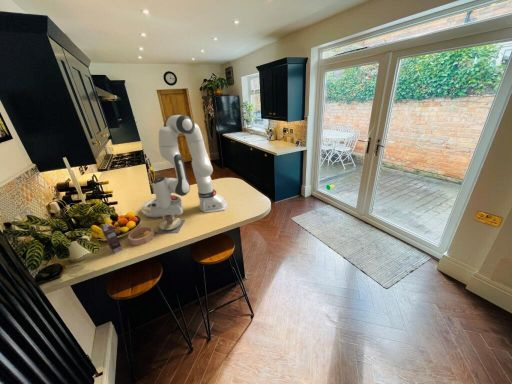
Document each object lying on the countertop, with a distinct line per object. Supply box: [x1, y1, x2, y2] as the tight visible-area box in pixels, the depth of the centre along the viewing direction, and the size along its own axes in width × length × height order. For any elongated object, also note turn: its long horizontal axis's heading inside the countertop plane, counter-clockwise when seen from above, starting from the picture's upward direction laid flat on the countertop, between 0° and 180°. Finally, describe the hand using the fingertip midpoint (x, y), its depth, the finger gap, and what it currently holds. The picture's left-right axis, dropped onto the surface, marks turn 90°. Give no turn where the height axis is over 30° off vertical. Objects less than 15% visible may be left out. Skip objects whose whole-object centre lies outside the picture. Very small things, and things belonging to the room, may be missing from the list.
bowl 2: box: [140, 194, 183, 218], centre depth 168 cm, size 30×30×8 cm
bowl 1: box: [127, 225, 155, 246], centre depth 135 cm, size 14×14×4 cm
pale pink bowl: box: [159, 215, 182, 230], centre depth 144 cm, size 14×14×7 cm
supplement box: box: [100, 222, 123, 255], centre depth 124 cm, size 9×5×16 cm, turn 48°
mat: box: [155, 219, 186, 234], centre depth 146 cm, size 15×15×1 cm
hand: (169, 219), depth 144 cm, fingers closed on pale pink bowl, 3 cm apart
